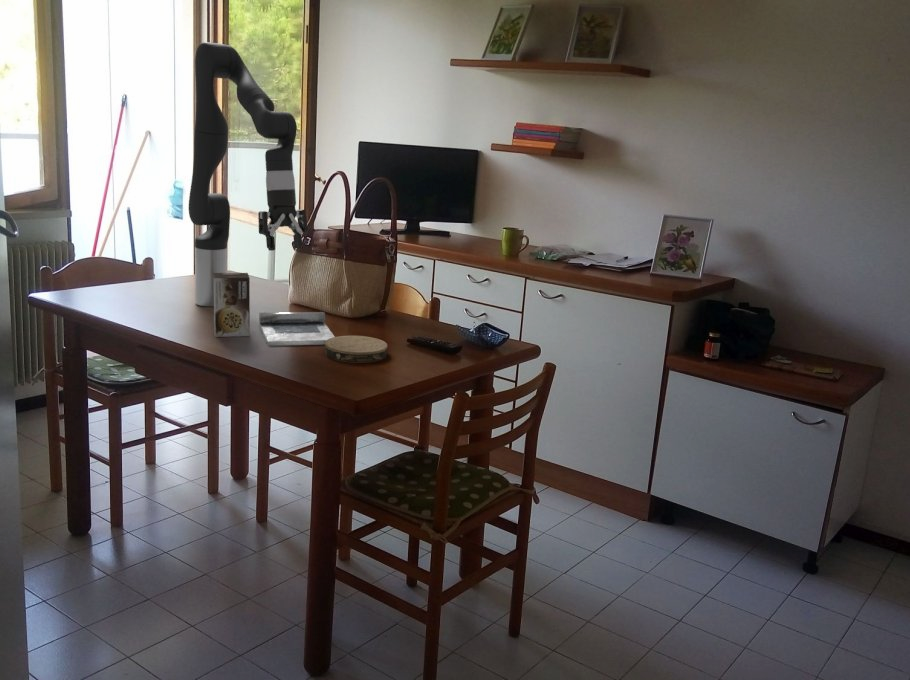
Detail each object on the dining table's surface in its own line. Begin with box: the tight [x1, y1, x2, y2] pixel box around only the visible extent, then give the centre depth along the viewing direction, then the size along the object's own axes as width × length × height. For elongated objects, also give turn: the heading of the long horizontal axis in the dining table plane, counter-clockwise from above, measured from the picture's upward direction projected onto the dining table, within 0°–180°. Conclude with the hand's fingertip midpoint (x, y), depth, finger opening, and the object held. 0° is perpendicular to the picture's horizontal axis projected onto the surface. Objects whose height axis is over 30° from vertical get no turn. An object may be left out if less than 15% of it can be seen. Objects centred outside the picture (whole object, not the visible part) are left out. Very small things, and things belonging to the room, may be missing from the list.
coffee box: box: [213, 272, 251, 338], centre depth 221 cm, size 9×6×16 cm
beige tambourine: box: [324, 335, 388, 364], centre depth 213 cm, size 16×16×3 cm
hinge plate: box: [258, 311, 336, 347], centre depth 226 cm, size 20×18×4 cm
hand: (284, 249), depth 226 cm, fingers open, 8 cm apart
